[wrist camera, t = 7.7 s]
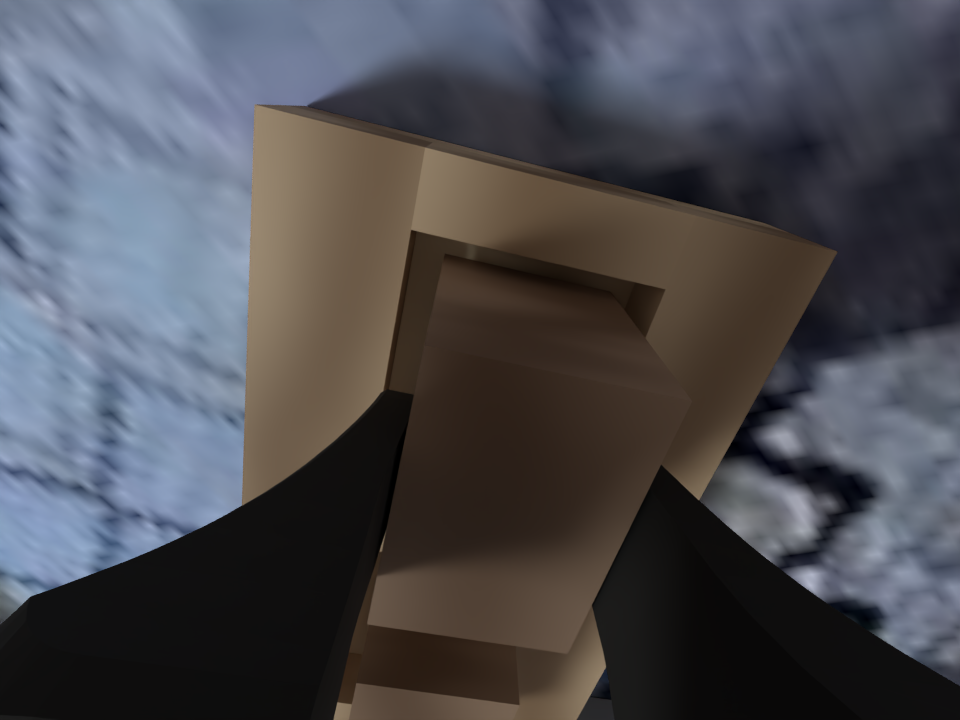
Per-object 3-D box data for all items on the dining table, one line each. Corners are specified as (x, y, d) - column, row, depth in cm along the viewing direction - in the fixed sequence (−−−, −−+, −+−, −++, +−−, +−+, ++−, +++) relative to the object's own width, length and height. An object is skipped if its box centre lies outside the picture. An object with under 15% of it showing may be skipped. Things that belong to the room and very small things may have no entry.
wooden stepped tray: (764, 223, 13) (837, 251, 11) (546, 676, 22) (556, 755, 19) (305, 105, 12) (254, 104, 9) (267, 636, 21) (235, 715, 18)
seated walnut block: (508, 546, 17) (519, 704, 12) (469, 656, 19) (466, 820, 15) (389, 525, 16) (356, 683, 12) (365, 641, 19) (330, 806, 14)
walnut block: (611, 291, 12) (691, 400, 7) (539, 485, 14) (567, 653, 10) (444, 253, 11) (424, 344, 7) (402, 460, 14) (367, 624, 10)
